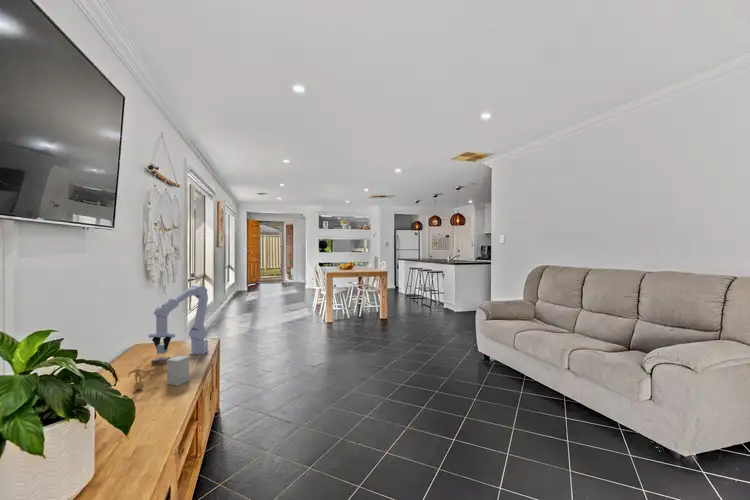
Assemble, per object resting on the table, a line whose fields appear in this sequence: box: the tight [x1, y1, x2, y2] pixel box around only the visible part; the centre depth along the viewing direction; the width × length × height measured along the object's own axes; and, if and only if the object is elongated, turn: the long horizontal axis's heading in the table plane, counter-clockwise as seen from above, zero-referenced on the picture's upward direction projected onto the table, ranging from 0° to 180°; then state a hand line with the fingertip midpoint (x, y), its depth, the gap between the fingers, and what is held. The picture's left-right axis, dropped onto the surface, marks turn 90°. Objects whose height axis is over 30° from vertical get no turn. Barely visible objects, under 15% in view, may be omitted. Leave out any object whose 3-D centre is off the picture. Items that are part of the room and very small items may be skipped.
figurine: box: [127, 366, 149, 391], centre depth 173 cm, size 8×6×12 cm
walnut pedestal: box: [151, 356, 171, 366], centre depth 214 cm, size 7×7×3 cm
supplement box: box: [166, 355, 190, 387], centre depth 184 cm, size 7×7×13 cm
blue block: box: [156, 342, 168, 355], centre depth 214 cm, size 4×4×5 cm
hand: (162, 349), depth 214 cm, fingers closed on blue block, 4 cm apart
